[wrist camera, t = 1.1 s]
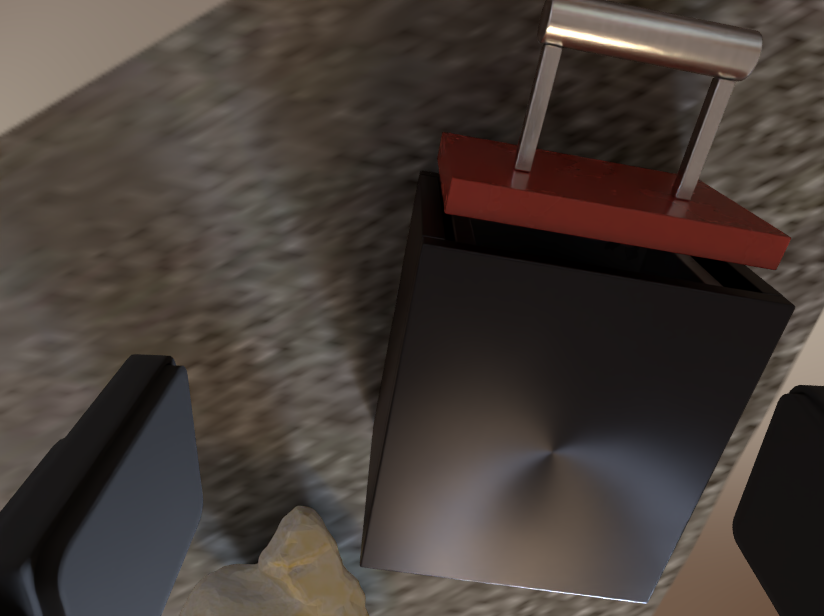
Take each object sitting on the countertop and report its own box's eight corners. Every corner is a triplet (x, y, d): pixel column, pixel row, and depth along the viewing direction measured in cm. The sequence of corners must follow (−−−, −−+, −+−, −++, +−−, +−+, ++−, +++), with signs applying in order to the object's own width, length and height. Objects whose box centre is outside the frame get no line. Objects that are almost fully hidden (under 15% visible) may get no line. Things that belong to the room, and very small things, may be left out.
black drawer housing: (419, 169, 28) (422, 243, 20) (684, 216, 29) (797, 306, 21) (373, 426, 35) (359, 567, 26) (591, 458, 35) (647, 604, 27)
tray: (471, -20, 24) (494, -29, 17) (749, 36, 25) (881, 49, 18) (392, 391, 32) (385, 498, 25) (601, 422, 33) (651, 535, 26)
